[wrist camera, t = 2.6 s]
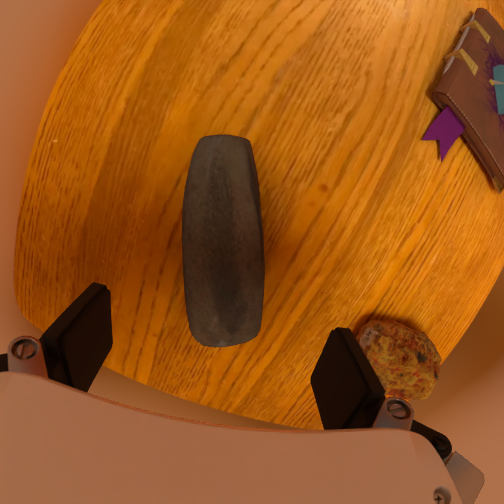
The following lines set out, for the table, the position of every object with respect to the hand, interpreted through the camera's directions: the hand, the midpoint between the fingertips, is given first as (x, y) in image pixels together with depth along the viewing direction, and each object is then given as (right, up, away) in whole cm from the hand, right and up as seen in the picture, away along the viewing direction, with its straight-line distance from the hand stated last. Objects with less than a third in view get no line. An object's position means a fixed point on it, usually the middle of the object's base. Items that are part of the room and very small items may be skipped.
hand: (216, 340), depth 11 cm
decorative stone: (-1, +4, +12) cm, 13 cm away
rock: (+17, -7, +17) cm, 25 cm away
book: (+29, +20, +8) cm, 36 cm away
